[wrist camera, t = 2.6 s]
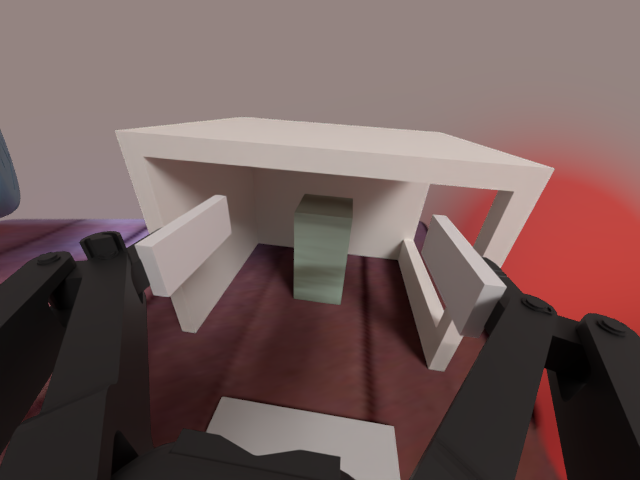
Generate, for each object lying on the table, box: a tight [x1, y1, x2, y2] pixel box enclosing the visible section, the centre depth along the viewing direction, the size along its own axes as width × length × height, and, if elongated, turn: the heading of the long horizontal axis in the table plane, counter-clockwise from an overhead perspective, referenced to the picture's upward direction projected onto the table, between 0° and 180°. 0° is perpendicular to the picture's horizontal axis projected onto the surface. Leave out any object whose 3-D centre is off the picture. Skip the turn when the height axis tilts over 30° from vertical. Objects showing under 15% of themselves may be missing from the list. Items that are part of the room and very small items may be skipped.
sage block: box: [294, 194, 353, 305], centre depth 30 cm, size 6×6×12 cm
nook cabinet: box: [115, 117, 554, 371], centre depth 28 cm, size 20×27×20 cm
